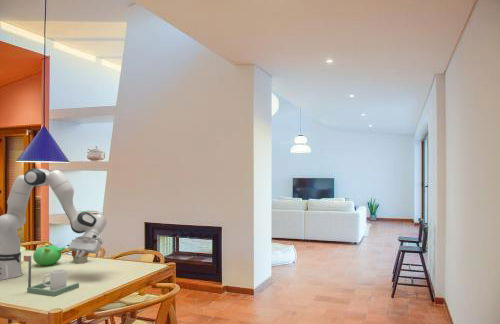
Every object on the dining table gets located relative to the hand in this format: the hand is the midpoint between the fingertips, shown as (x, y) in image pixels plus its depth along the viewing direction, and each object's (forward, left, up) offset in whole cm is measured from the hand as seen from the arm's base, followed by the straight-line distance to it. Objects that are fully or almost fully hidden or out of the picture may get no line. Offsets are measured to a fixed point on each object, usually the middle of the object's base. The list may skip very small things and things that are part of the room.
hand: (77, 257), depth 241 cm
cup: (-8, -16, -14) cm, 23 cm away
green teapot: (-30, +47, -14) cm, 57 cm away
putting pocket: (-10, -16, -14) cm, 23 cm away
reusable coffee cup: (-10, +53, -14) cm, 55 cm away
